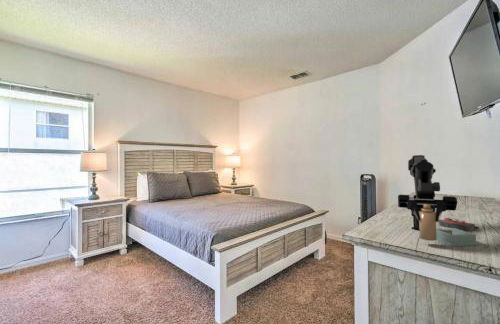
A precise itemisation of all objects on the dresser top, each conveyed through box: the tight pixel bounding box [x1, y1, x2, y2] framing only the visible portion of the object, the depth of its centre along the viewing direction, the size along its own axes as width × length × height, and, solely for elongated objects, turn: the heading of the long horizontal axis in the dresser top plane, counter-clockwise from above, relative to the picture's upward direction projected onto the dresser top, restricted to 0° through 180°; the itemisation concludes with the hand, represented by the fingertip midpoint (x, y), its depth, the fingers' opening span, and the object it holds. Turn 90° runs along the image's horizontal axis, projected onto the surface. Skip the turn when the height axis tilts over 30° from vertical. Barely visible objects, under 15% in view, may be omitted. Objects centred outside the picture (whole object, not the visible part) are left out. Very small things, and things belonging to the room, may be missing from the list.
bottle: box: [418, 204, 438, 242], centre depth 92 cm, size 5×5×13 cm
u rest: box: [436, 228, 480, 247], centre depth 96 cm, size 10×10×4 cm
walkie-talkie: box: [438, 217, 480, 232], centre depth 118 cm, size 9×4×20 cm
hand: (427, 220), depth 91 cm, fingers closed on bottle, 5 cm apart
